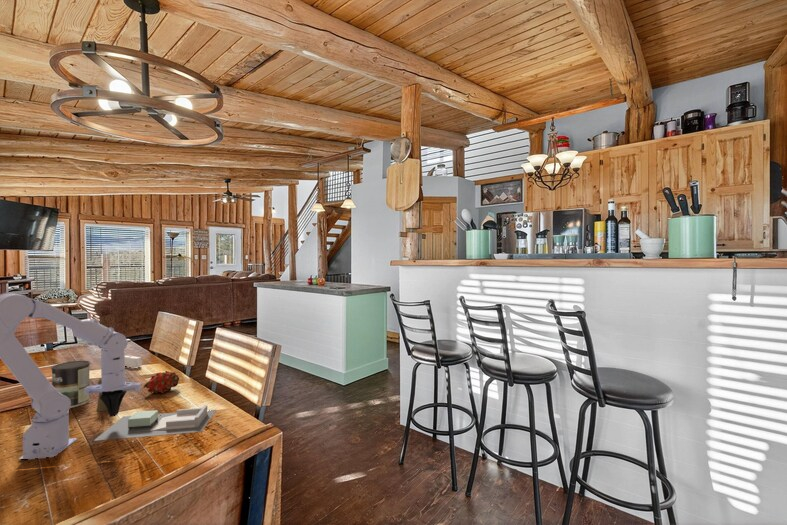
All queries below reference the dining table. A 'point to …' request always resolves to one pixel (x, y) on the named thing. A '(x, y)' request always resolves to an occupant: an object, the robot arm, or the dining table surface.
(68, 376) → the coffee can
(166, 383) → the dragon fruit
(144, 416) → the cart
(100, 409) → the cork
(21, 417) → the dining table surface
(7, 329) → the robot arm
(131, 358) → the napkin holder
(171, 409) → the dining table surface
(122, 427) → the dock
